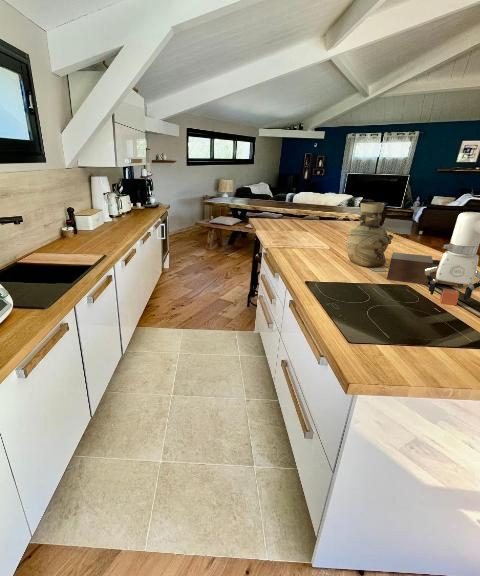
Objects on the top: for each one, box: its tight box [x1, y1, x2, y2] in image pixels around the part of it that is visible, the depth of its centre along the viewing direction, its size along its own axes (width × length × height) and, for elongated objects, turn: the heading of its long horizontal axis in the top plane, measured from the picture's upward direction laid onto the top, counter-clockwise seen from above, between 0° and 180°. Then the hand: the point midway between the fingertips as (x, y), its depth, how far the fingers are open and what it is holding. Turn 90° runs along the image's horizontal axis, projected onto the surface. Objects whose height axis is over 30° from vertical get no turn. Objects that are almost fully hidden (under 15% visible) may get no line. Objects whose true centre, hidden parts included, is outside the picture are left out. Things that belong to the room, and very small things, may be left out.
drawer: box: [428, 258, 480, 289], centre depth 129 cm, size 18×11×8 cm, turn 56°
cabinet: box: [386, 251, 434, 286], centre depth 137 cm, size 15×13×10 cm
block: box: [439, 287, 460, 307], centre depth 112 cm, size 4×4×4 cm
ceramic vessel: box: [346, 202, 394, 268], centre depth 157 cm, size 19×21×30 cm
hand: (447, 296), depth 112 cm, fingers open, 9 cm apart
